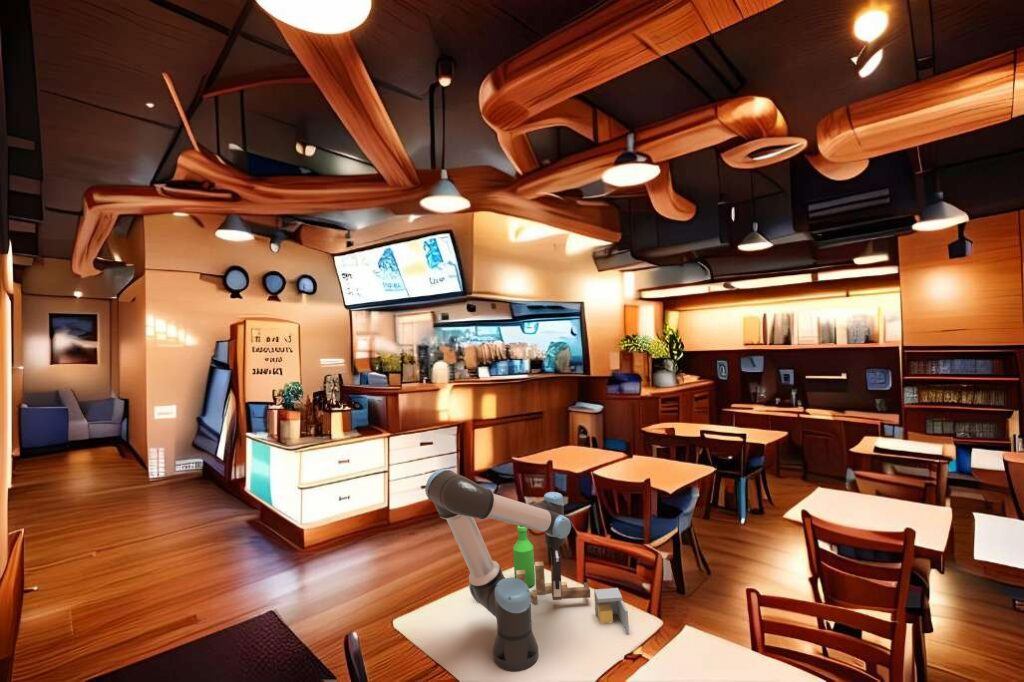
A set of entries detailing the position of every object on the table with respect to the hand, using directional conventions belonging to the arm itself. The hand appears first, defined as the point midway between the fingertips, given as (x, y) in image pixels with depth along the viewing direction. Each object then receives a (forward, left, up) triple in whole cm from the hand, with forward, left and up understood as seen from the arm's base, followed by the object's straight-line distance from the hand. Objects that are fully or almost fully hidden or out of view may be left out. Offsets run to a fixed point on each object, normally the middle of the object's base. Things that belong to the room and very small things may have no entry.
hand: (556, 593), depth 186 cm
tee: (-11, +5, -5) cm, 14 cm away
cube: (+17, -10, -5) cm, 20 cm away
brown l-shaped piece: (+6, +1, -2) cm, 6 cm away
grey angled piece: (+18, -14, -5) cm, 23 cm away
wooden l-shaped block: (-1, +11, -5) cm, 13 cm away
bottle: (-11, +19, -6) cm, 23 cm away
